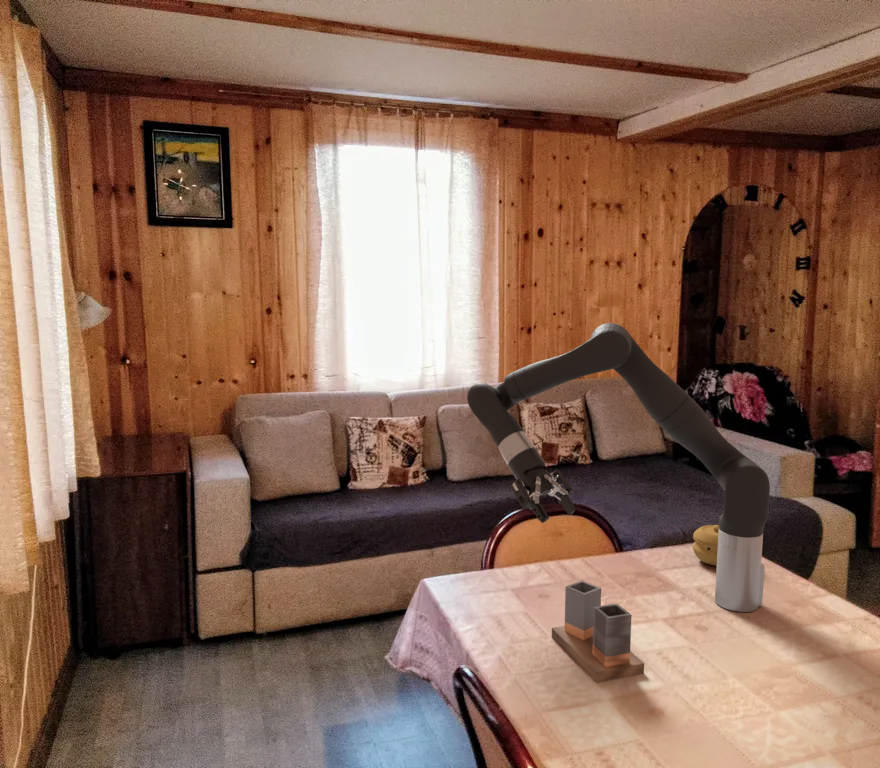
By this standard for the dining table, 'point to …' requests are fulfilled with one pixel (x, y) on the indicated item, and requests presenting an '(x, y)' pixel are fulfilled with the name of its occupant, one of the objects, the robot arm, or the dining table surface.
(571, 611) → the sleeve
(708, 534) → the pot
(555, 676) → the dining table surface
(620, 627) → the pin board
